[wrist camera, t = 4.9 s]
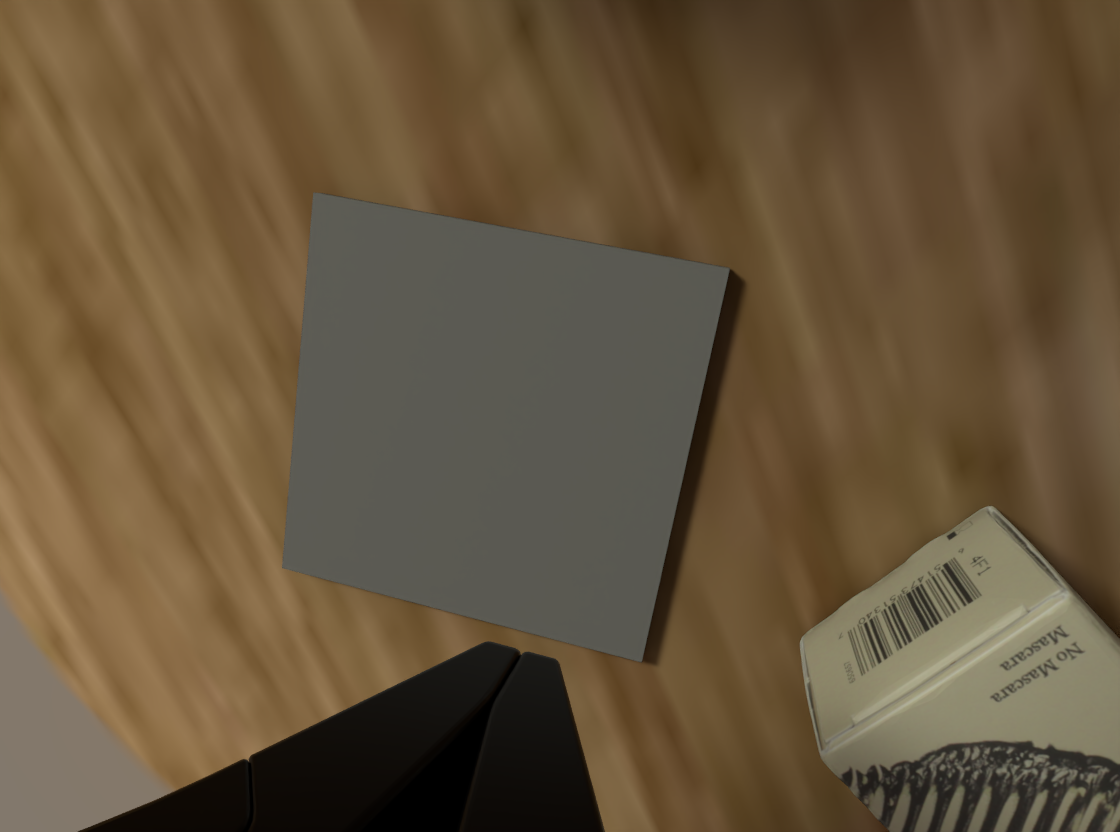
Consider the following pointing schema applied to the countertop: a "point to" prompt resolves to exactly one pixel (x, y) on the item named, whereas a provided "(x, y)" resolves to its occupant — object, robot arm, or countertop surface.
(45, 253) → the countertop surface
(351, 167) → the countertop surface
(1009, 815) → the box
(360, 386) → the mat
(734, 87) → the countertop surface
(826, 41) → the countertop surface
